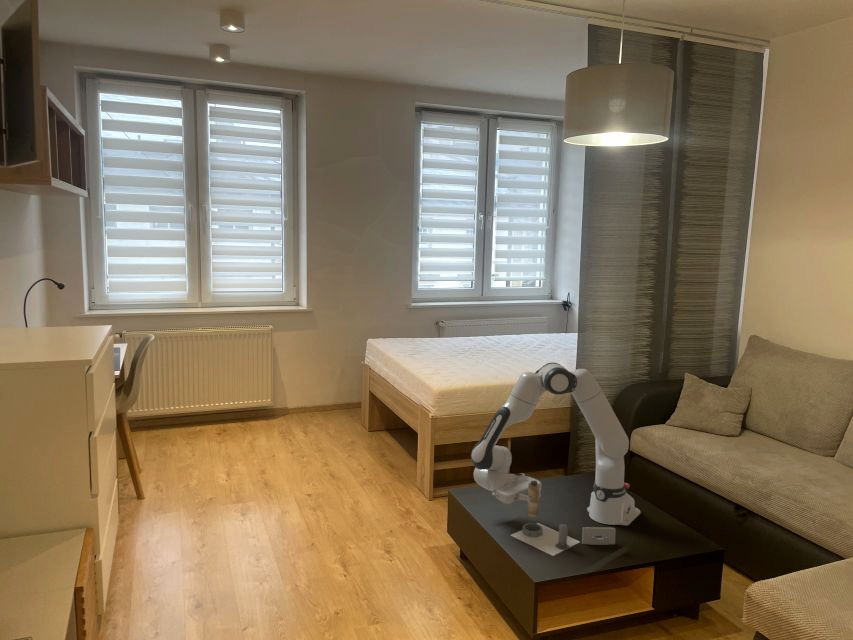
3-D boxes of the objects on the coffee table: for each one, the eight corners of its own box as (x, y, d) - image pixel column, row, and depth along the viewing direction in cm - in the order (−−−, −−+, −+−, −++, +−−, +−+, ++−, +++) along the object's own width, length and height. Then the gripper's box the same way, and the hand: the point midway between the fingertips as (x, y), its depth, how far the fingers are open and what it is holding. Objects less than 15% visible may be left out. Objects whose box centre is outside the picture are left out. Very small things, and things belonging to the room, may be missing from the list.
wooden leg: (531, 511, 246) (533, 478, 244) (540, 515, 243) (541, 482, 241) (525, 514, 243) (526, 481, 241) (533, 518, 240) (534, 484, 238)
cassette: (582, 548, 235) (583, 528, 234) (581, 546, 237) (582, 526, 236) (615, 549, 236) (616, 529, 234) (613, 546, 237) (614, 526, 236)
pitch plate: (537, 526, 252) (538, 503, 251) (581, 546, 237) (582, 521, 236) (510, 538, 242) (510, 514, 241) (554, 560, 227) (555, 534, 225)
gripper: (489, 484, 244) (517, 496, 234) (524, 472, 258) (552, 482, 247) (488, 500, 245) (516, 513, 235) (524, 487, 259) (551, 498, 248)
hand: (535, 497), depth 241 cm, fingers closed on wooden leg, 4 cm apart
